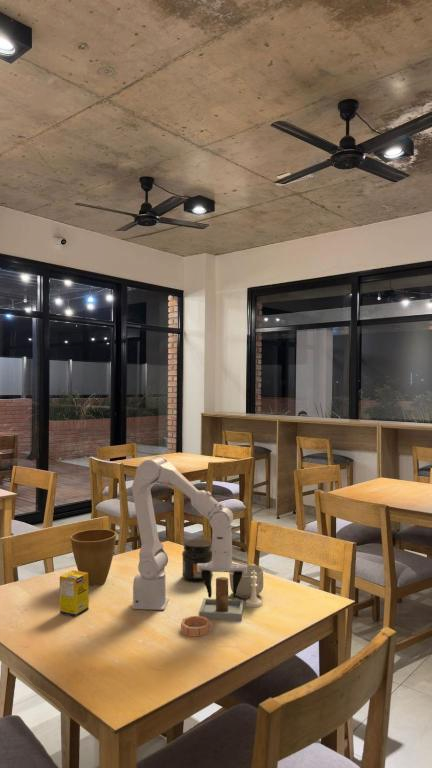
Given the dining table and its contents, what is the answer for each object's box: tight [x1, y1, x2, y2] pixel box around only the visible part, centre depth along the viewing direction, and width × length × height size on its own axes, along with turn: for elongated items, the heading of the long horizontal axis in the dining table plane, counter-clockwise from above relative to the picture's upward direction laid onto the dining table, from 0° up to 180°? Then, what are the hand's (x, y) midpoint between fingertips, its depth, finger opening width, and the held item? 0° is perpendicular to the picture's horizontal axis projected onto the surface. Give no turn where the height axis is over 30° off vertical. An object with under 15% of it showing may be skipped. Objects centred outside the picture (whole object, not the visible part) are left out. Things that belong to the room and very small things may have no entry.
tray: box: [198, 597, 245, 621], centre depth 158 cm, size 12×10×2 cm
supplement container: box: [181, 538, 214, 583], centre depth 186 cm, size 10×10×12 cm
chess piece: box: [245, 570, 263, 608], centre depth 164 cm, size 5×5×10 cm
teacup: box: [228, 563, 264, 600], centre depth 172 cm, size 14×11×8 cm
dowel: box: [215, 576, 229, 612], centre depth 158 cm, size 4×4×9 cm
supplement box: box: [59, 569, 90, 617], centre depth 158 cm, size 6×6×11 cm
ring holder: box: [180, 615, 211, 637], centre depth 147 cm, size 8×8×2 cm
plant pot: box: [70, 528, 117, 587], centre depth 182 cm, size 15×15×16 cm
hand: (222, 596), depth 158 cm, fingers open, 6 cm apart
